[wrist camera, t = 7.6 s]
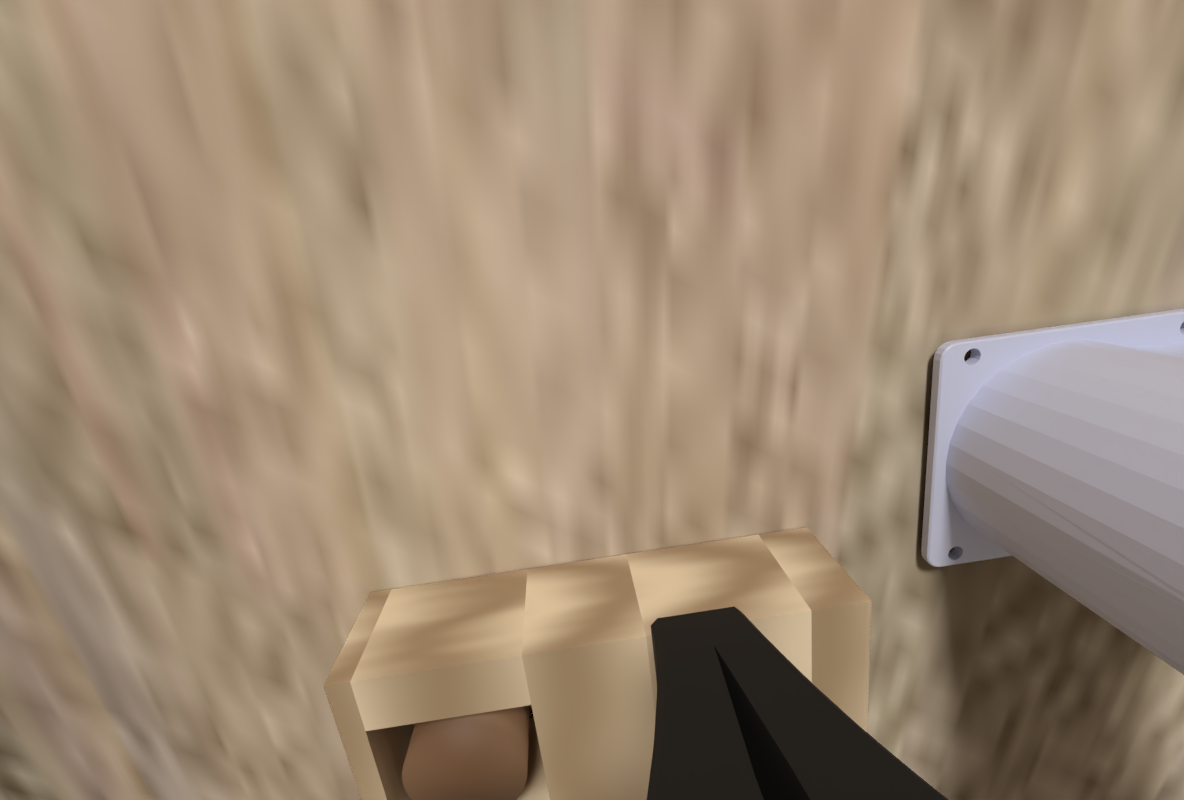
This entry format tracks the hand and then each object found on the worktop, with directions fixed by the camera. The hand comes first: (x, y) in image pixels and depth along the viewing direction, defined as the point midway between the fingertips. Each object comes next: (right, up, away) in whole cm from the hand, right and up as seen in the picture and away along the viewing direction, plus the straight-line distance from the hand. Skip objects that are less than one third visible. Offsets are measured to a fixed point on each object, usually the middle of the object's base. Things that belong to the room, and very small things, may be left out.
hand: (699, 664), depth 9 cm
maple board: (-1, -10, +13) cm, 16 cm away
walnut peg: (-6, -6, +11) cm, 13 cm away
